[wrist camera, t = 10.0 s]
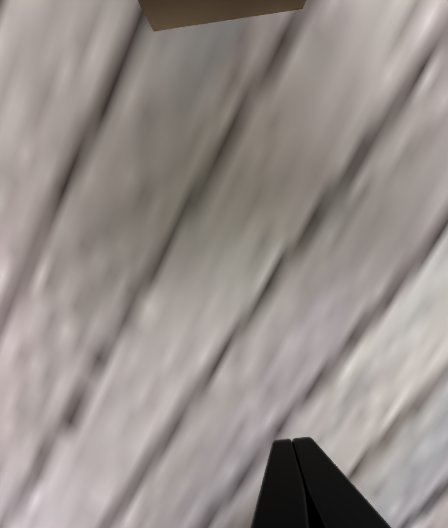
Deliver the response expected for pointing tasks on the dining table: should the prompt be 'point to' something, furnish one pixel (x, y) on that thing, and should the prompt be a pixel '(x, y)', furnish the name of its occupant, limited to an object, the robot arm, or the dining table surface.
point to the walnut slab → (209, 10)
